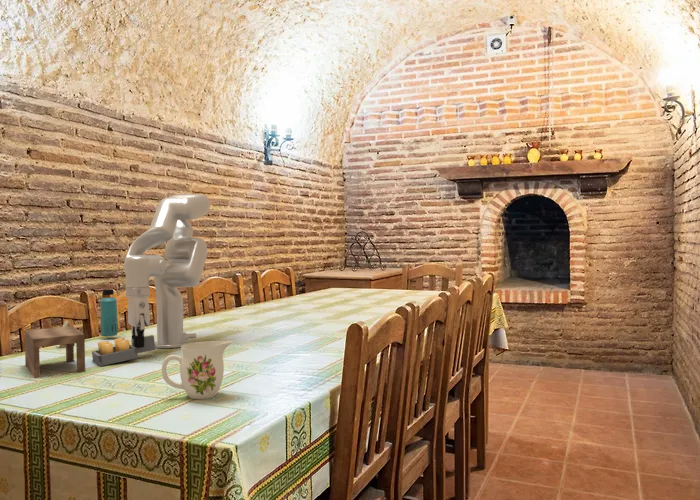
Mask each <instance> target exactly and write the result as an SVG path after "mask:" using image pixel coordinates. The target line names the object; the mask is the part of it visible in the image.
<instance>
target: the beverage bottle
mask: <svg viewBox="0 0 700 500" xmlns="http://www.w3.org/2000/svg"><path fill="white" fill-rule="evenodd" d="M110 295H115V292H114V289H112V288H105V289H103V290H102V296H109V297H102V298H101V299H100V301H99V302H100V306H99V307H100V323H99V325H100V335H101V337H114V336H117V335H118V334H119V333H118V329H119V327H118V325H119V324H118V308H117V307H118V306H117V302H118V301H117V299H116V298H115V297H111V296H110Z"/></svg>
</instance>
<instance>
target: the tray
mask: <svg viewBox="0 0 700 500" xmlns="http://www.w3.org/2000/svg"><path fill="white" fill-rule="evenodd" d="M113 341H114V346H113V342H110V341H109V340H103V341H99V342H97V348H98V349H97V350H93V351H91V355H92V356H91V357H92V362H93V363H95V364H96V365H98V366H100V367H102V366H106V365H110V364H111V365H112V364H115V363H122V362H125V361H129V360H136V359H139V354H141V353H146V352H150V351H155V350H156V349H157V348H156V347H155V342H156V341H155V335H153V334H151V335H146V336H145V335H144V347H143V348H136V347H134V339H132V338H131V344H130V340H129V339H126V338H125V337H118V338H114V339H113Z"/></svg>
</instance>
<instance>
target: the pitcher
mask: <svg viewBox="0 0 700 500" xmlns="http://www.w3.org/2000/svg"><path fill="white" fill-rule="evenodd" d="M233 342H234V340H210V341H207V340H206V341H195V342H188V344H184V345H182V346H181V347H180V349H181V353H182V356H180V355H177V354H169V355H168V356H167V357H165V358H164V360H163V361H162V364H161V374H162V379H163V380H164V382H165V383H166V384H167V385H169V386H170V387H172V388H175V389H178V390H179V389H180V390H184V392H185V394H187V396H188V397H189V398H190V399H193V400H206V399H210V398H211V399H212V398H214V397H215V396H216V395H217V393H218V392H219V390H220V388H221V385H222V382H223V380H224V379H223V378H224V371H225V366H224V358H223V355H224V353H225V351H226V349H227V348H228V347H229V346H230V345H231V344H233ZM170 361H177V362H179V363H180V365H179V375H180V380H181V382H176V381H174V380H172V379H171V378H170V377H169V375H168V373H167V366H168V364H169V362H170Z"/></svg>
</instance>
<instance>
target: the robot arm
mask: <svg viewBox="0 0 700 500" xmlns="http://www.w3.org/2000/svg"><path fill="white" fill-rule="evenodd" d="M210 208H211V203H210V199H209V198H208V196H207V195H205V194H201V193H195V194H186V193H185V194H174V195H170V196H169V197H166V198H163V199H160V201H159V202H158V204H157V207H156V210H155V211H154V215H153V217H152V220H151V223H150V226H149V228H148V229H147V230H146V231H144V232H143V233H142V234H141V235H139V236H138V237H137V238H136V239H135V240H134V241H133V242H132V243H131V244H130V245H129V248H128V249H127V253H126V255H125V259H124V263H123V269H124V272H125V298H128V300H127V301H128V302H127V322H128V325H130V327H131V339H134V347H136V348H143V347H144V337H145V330H146V328H145V327H149V326H150V324H151V320H150V319H151V318H150V317H151V316H150V304H149V303H150V302H149V297H150V277H151V278H153V281H154V282H153V283H154V287H155V293H156V294H155V295H156V341H155V349H157V348H158V349H174V348H175V349H177V348H181V346H182V345H184V344H188V343H189V341H188V340H189V339H197V333H186V332H184V299H183V296H182V293H181V291H180V290H179V289H178V288H194V287H196V286H198V285H199V284H200V282H201V279H202V276H203V275H202V274H203V272H204V268H205V266H206V265H205V264H206V261H207V256H208V246H207V243H206V241H205V240H204V239H203V238H200V237H193V234H194V228H193V226H192V224H191V223H190V220H191V221H192V220H196V219H199V218H202V217H204V216H206V215H207V214H208V213H209V211H210ZM164 243H166V244H165V248H164V257H165V258H164V257H162V256H161V255H159V254H158V255H157V254H155V255H154V254H145V253H146V252H147V251H149V250H150V249H152V248H155V247H157V246H159V245H162V244H164ZM166 260H167V261H166Z"/></svg>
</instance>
